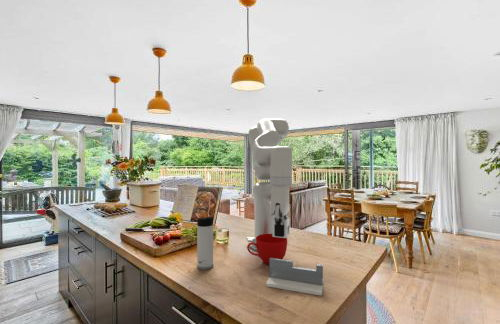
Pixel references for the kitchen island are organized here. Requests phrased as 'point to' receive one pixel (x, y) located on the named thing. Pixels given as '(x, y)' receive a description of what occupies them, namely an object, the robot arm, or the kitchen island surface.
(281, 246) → the ceramic cup
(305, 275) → the rail
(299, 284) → the base board
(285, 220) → the clip
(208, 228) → the travel mug
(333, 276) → the kitchen island surface
